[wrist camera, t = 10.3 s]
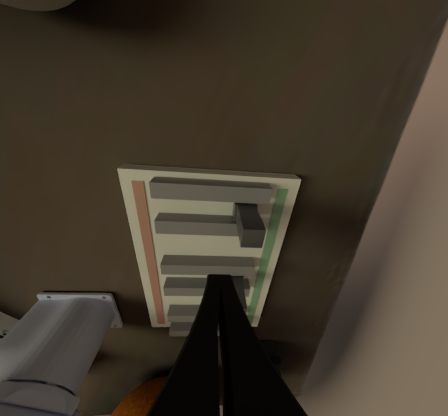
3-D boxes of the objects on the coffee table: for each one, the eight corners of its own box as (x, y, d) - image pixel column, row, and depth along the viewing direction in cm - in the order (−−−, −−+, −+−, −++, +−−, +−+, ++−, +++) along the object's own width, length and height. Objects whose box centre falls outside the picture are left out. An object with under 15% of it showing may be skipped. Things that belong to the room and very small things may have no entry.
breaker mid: (224, 277, 21) (226, 318, 17) (225, 268, 20) (228, 308, 16) (240, 277, 21) (247, 318, 17) (242, 268, 20) (249, 308, 16)
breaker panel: (155, 316, 27) (148, 338, 25) (125, 163, 16) (107, 173, 13) (255, 316, 28) (259, 337, 26) (294, 174, 17) (309, 185, 14)
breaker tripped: (232, 213, 17) (237, 247, 13) (234, 199, 16) (240, 229, 12) (252, 214, 17) (264, 248, 13) (255, 200, 16) (269, 230, 12)
